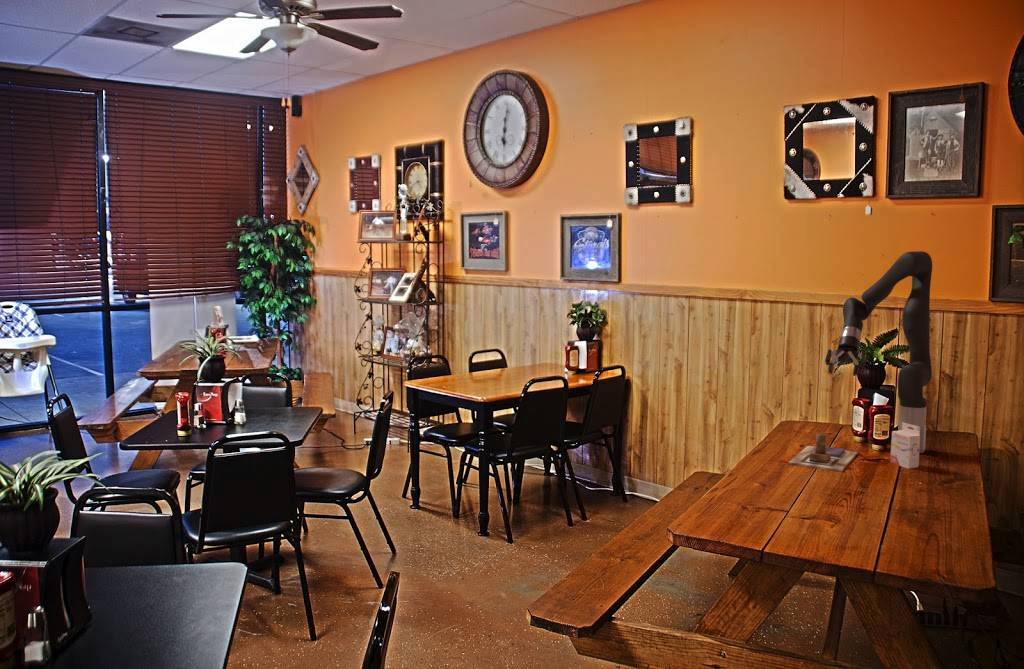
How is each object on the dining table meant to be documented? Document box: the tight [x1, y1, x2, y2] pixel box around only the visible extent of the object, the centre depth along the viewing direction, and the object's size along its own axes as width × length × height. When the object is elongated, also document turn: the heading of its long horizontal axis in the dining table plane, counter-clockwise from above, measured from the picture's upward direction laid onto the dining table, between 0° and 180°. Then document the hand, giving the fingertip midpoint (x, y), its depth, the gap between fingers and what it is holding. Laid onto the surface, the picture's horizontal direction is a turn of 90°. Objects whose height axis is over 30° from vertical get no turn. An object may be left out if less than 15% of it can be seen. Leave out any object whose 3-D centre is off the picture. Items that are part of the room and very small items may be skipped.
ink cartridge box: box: [889, 422, 920, 470], centre depth 297 cm, size 9×5×15 cm, turn 22°
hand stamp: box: [809, 433, 831, 464], centre depth 300 cm, size 6×6×9 cm
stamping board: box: [788, 445, 858, 472], centre depth 306 cm, size 18×28×2 cm, turn 147°
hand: (842, 373), depth 320 cm, fingers open, 8 cm apart
